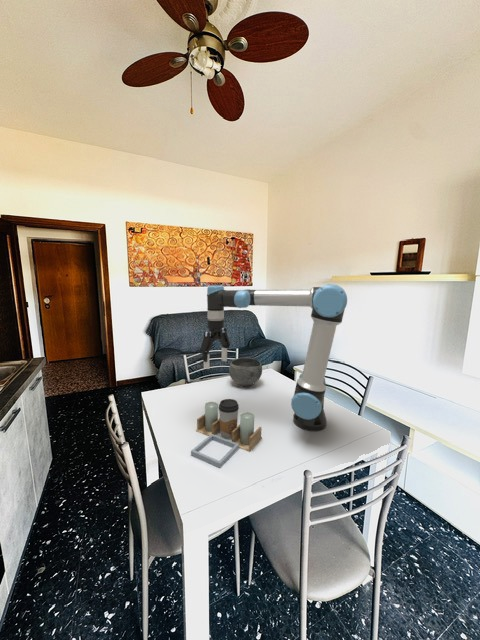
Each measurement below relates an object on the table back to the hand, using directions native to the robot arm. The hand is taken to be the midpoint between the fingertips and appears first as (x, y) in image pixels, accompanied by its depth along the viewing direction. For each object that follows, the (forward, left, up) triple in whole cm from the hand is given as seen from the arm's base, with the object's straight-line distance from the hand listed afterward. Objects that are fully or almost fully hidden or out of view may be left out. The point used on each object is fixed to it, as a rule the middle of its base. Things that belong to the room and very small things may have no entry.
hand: (215, 364), depth 123 cm
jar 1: (-5, +10, -25) cm, 28 cm away
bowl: (+8, -44, -26) cm, 52 cm away
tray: (-16, +22, -26) cm, 38 cm away
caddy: (-14, +10, -26) cm, 31 cm away
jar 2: (-23, +10, -25) cm, 36 cm away
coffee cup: (-14, +10, -26) cm, 32 cm away
